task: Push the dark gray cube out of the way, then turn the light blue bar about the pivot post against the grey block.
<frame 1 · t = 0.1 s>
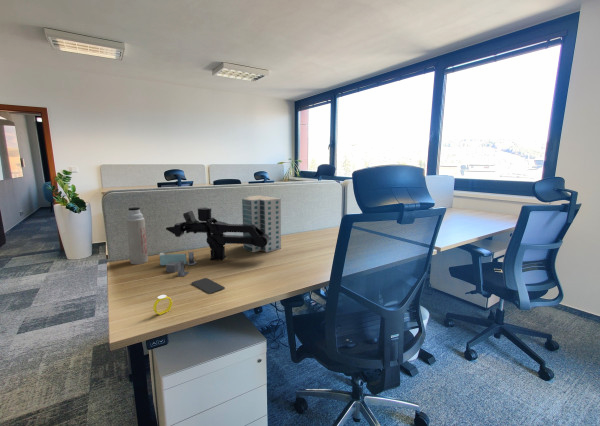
hand: (171, 226, 152), 17 cm above the table, tool horizontal, fingers open, 9 cm apart
pivot post: (191, 263, 143), on the table
grey block: (181, 274, 130), on the table
dark gray cube: (172, 270, 134), on the table
building model: (259, 247, 172), on the table
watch: (163, 313, 97), on the table
light blue bar: (173, 258, 141), point 3 cm above the table, hinge at -75.0°
phone: (207, 287, 118), on the table
thermos bottle: (139, 262, 146), on the table
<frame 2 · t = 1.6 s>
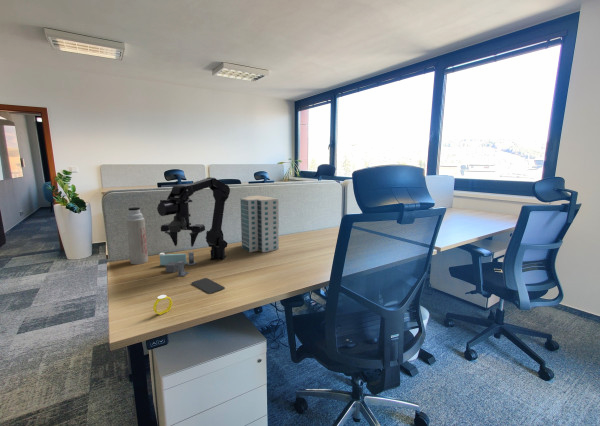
hand: (184, 246, 132), 12 cm above the table, tool pointing down, fingers open, 8 cm apart
building model: (258, 247, 172), on the table
everything else where it was.
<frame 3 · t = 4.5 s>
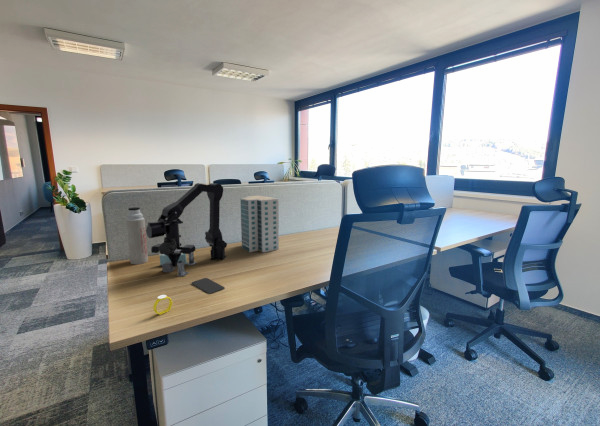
hand: (174, 266, 134), 2 cm above the table, tool pointing down, fingers closed
dark gray cube: (169, 270, 134), on the table, touching gripper
everything else where it was.
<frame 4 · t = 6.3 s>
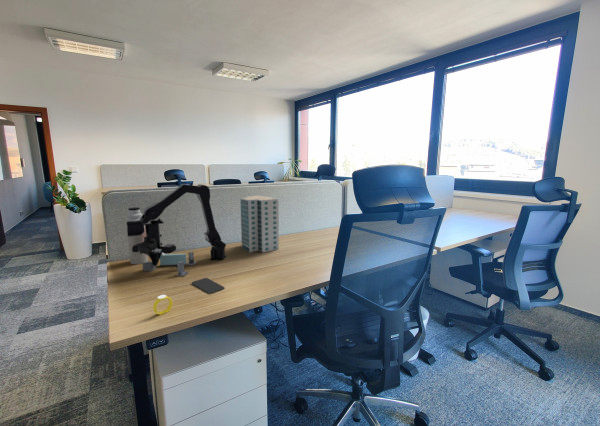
hand: (155, 265, 135), 2 cm above the table, tool pointing down, fingers closed
dark gray cube: (149, 269, 135), on the table, touching gripper
everything else where it was.
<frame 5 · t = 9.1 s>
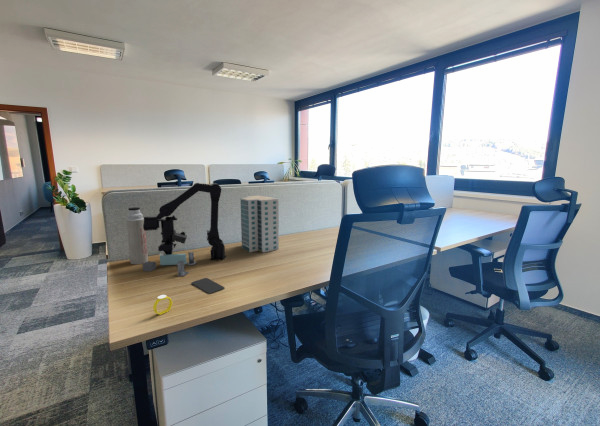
hand: (170, 259, 144), 2 cm above the table, tool pointing down, fingers closed
dark gray cube: (149, 269, 135), on the table
light blue bar: (173, 258, 141), point 3 cm above the table, hinge at -75.0°, touching gripper
everything else where it was.
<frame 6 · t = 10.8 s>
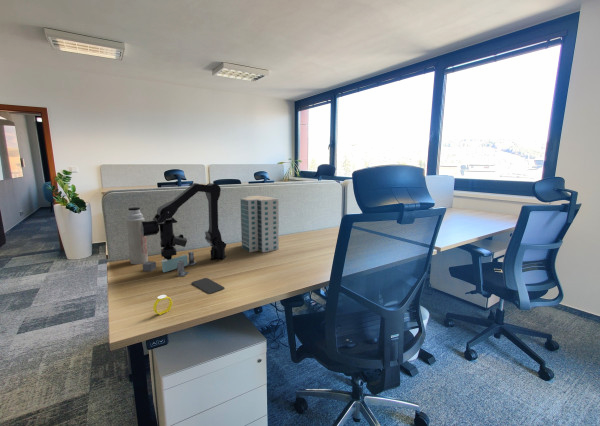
hand: (169, 264, 137), 2 cm above the table, tool pointing down, fingers closed
light blue bar: (175, 262, 136), point 3 cm above the table, hinge at -30.2°, touching gripper
everything else where it was.
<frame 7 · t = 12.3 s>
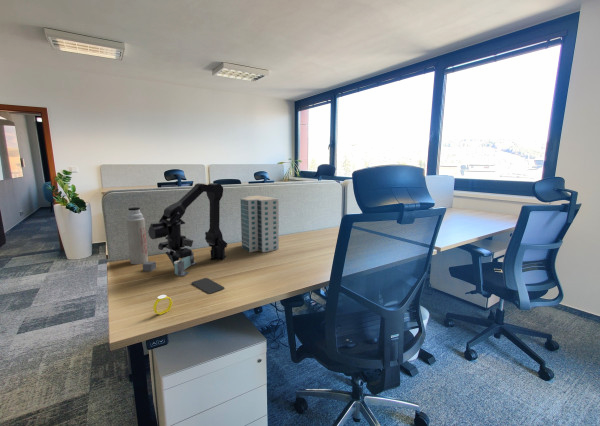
hand: (175, 266, 133), 2 cm above the table, tool pointing down, fingers closed
light blue bar: (182, 263, 134), point 3 cm above the table, hinge at 0.8°, touching gripper, grey block
everything else where it was.
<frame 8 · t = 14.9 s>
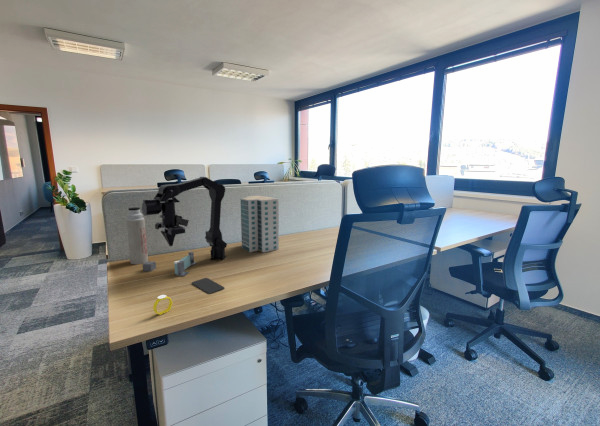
hand: (171, 245, 132), 12 cm above the table, tool pointing down, fingers closed
light blue bar: (182, 263, 134), point 3 cm above the table, hinge at 0.7°
everything else where it was.
at the end: light blue bar at +1° (first picture: -75°); dark gray cube inside the target area (2.0 cm from its centre), on the table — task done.
